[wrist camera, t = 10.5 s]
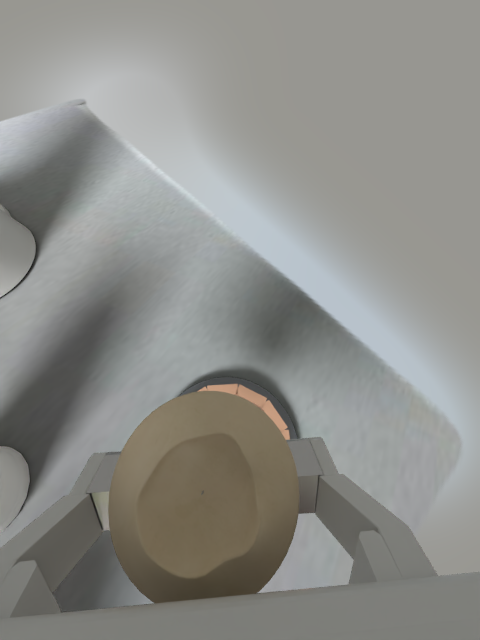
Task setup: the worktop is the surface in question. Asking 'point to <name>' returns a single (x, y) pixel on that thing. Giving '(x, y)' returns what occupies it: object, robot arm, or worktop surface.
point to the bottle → (12, 484)
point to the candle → (203, 499)
